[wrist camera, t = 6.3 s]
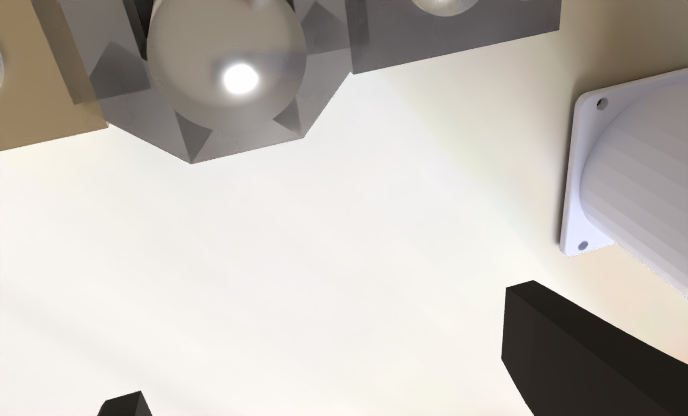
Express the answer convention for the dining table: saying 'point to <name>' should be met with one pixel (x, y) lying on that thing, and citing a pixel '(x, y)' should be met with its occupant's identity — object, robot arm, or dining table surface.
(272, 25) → the pin
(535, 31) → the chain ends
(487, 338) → the dining table surface
